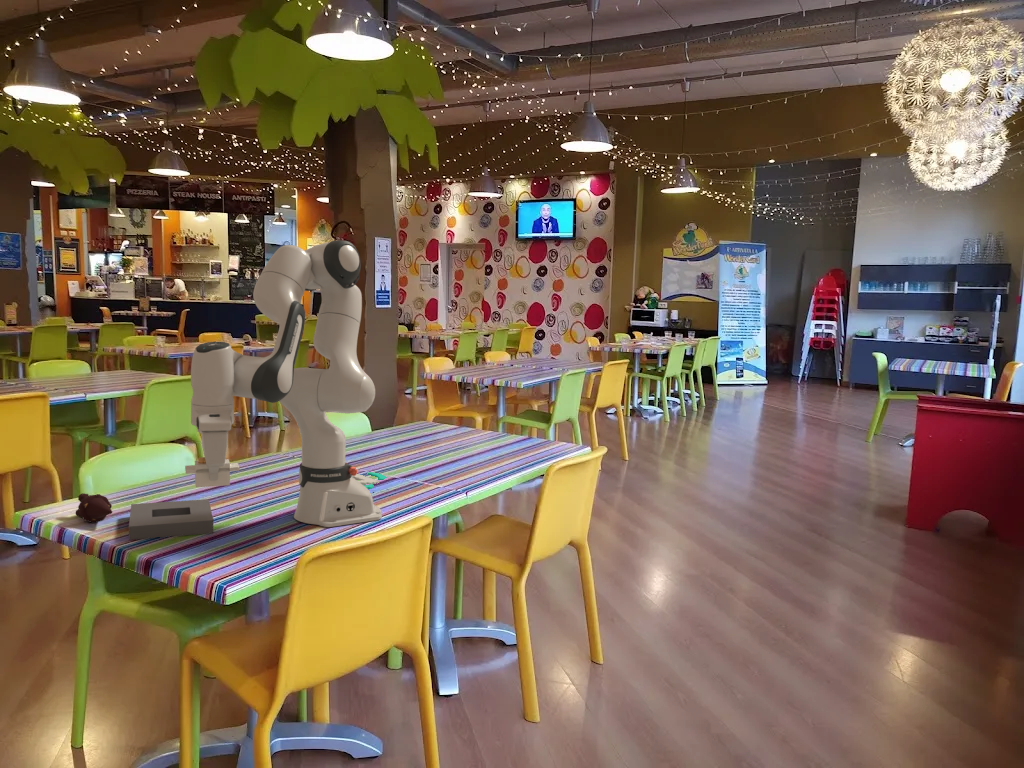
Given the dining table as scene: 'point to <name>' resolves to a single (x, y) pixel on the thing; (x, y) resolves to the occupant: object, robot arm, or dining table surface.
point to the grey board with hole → (170, 519)
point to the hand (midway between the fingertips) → (212, 476)
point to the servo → (203, 473)
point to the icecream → (93, 507)
